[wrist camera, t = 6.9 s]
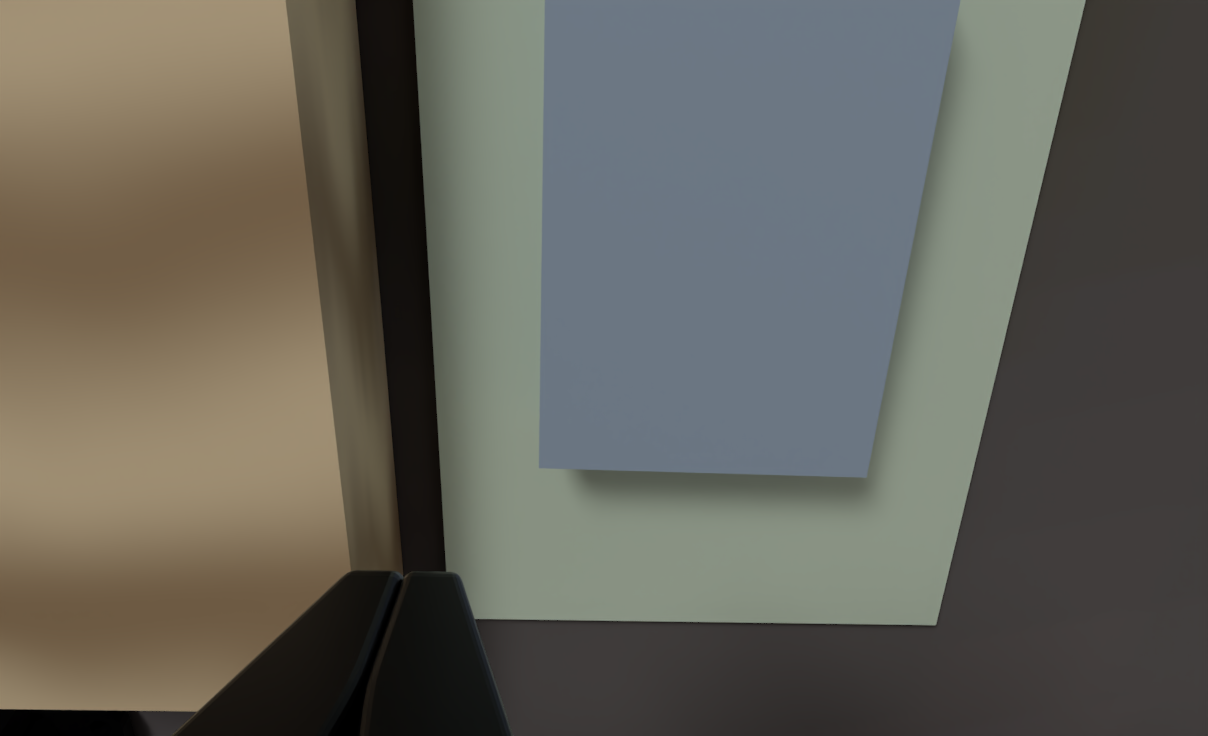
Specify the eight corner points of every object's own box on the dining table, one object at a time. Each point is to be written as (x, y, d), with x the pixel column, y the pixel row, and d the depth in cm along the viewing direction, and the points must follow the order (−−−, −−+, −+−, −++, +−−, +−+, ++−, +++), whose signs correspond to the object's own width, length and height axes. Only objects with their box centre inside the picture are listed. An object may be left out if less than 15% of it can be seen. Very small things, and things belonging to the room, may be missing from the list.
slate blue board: (538, 468, 18) (543, 412, 20) (866, 477, 18) (842, 421, 20) (545, -73, 14) (551, -82, 16) (970, -54, 14) (928, -66, 16)
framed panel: (403, 573, 22) (367, 713, 18) (38, 568, 22) (-69, 708, 18) (316, -458, 14) (220, -564, 10) (-276, -480, 13) (-586, -597, 10)
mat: (932, 616, 23) (935, 625, 22) (450, 609, 23) (449, 618, 22) (1198, -518, 13) (1211, -526, 13) (384, -551, 13) (380, -558, 13)
